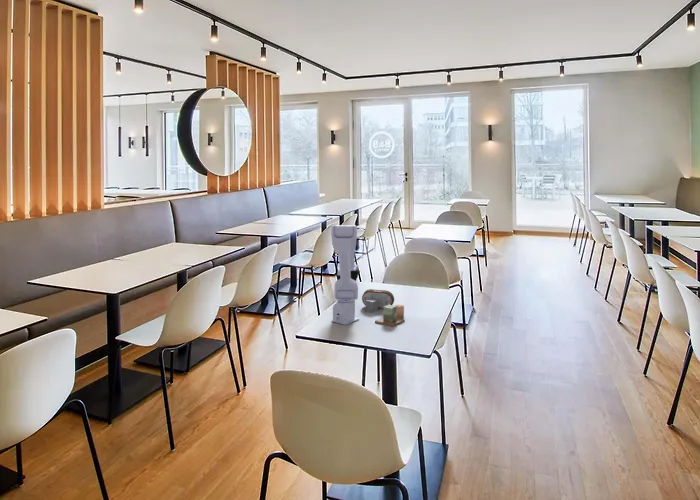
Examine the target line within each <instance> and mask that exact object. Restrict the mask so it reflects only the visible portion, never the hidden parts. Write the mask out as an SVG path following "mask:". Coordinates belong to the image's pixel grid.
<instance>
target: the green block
mask: <svg viewBox="0 0 700 500" xmlns="http://www.w3.org/2000/svg"><path fill="white" fill-rule="evenodd" d="M382 313H383V315H382V316H383V317H382V318H383V321H388V322H393V321H395V320H396V319H397V306H395V305H394V304H393V305H387V306H384V307H383V311H382Z"/></svg>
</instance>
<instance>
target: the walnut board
mask: <svg viewBox="0 0 700 500" xmlns="http://www.w3.org/2000/svg"><path fill="white" fill-rule="evenodd" d="M405 321H406V320H405V319H404V318H401V319H400V318H397V319H396V320H395V321H393V322H388V321H383V317H381V318H378V319H376V320H374V323H375V324H379V325H382V326H388V327H391V328H393V327H394V328H395V326H398V325H400V324H402V323H405Z"/></svg>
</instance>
